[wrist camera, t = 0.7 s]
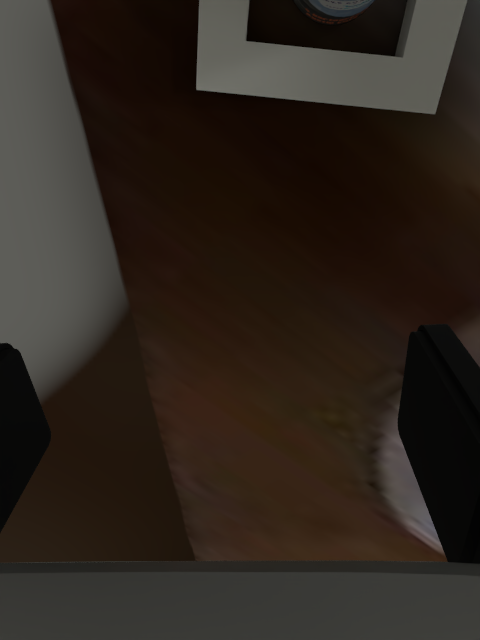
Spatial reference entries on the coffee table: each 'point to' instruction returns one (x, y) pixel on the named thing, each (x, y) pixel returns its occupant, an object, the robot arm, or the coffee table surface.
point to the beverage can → (333, 10)
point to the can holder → (330, 61)
